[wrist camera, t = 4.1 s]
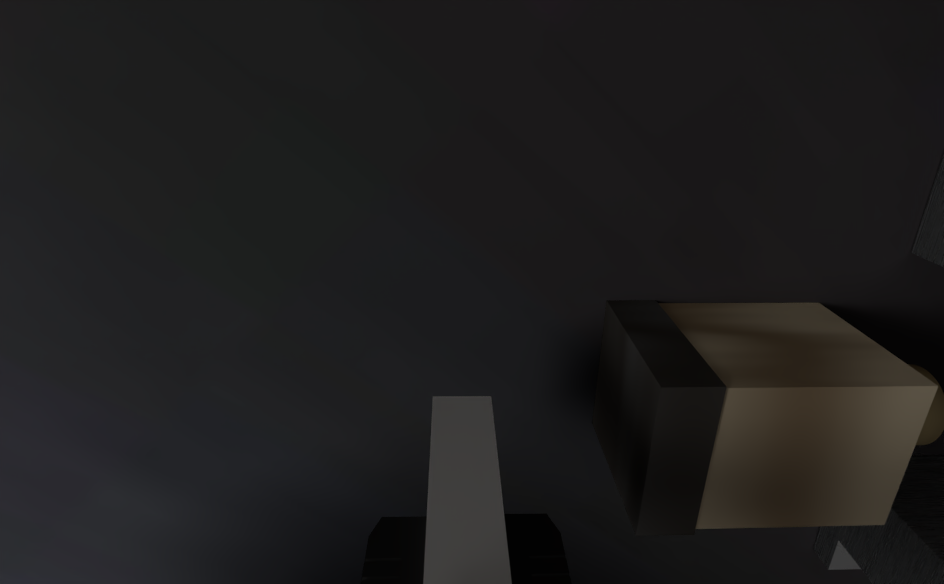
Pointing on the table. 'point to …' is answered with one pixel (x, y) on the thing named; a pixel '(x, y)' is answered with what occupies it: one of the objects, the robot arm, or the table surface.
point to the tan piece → (755, 416)
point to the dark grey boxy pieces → (902, 484)
